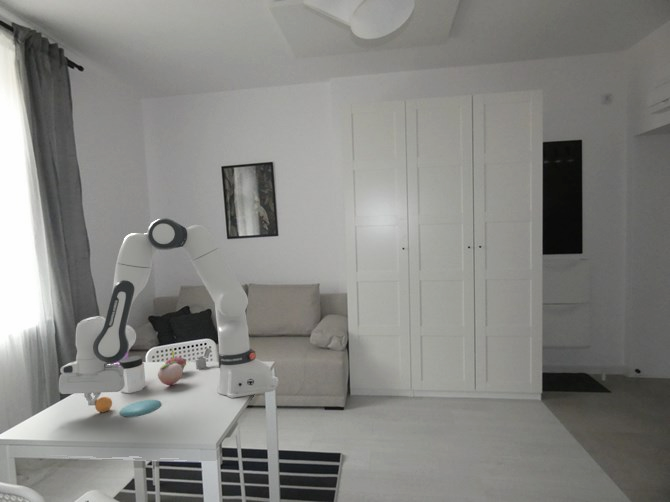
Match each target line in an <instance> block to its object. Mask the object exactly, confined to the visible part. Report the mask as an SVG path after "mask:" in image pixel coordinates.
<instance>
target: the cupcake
mask: <svg viewBox="0 0 670 502" xmlns="http://www.w3.org/2000/svg"><path fill="white" fill-rule="evenodd" d="M174 352H175V351H174V349H173V348H171V355H172V358H170V359H167V360H166V362H165V364H169V361H170V363H171V362H174V361H175V362H179V365H180V366H181V367H182V369H183V370H184V368H185V367H186V365H187V361H186V359H185V358H183V357H179V356H178V357H177V356H176V357H175V353H174ZM165 364H164V365H165ZM177 364H178V363H177Z"/></svg>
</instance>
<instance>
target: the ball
mask: <svg viewBox="0 0 670 502" xmlns="http://www.w3.org/2000/svg"><path fill="white" fill-rule="evenodd" d="M112 405H113V401H112V399H111V398H110V397H109V396H102V397H100V398H98V399H97V402H96V404H95V405H94V408H95V410H96V411H97V412H99V413H105V412H108V411H109V410H111V408H112Z"/></svg>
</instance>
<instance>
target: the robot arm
mask: <svg viewBox="0 0 670 502" xmlns="http://www.w3.org/2000/svg"><path fill="white" fill-rule="evenodd" d="M178 248H180V249H182V250H184V252H185V253H186V255H187V257H188V258H189V260H190V262H191V264H192V266H193V267H194V269H195V271H196V273H197V275H198V276H199V278H200V280H201V281H202V283H203V285H204V287H205V289H206V291H207V292H208V294H209V296H210V297H211V299H212V302H214V308H215V319H216V327H217V337H218V339H217V340H218V350H219V351H218V356H217V361H218V367H219V380H218V388H217V392H218V394H220V395H222V396H227V397H228V398H233V399H234V398H239V397H245V396H253V395H257V394H264V393H271V392H274V391H275V390H277V388H278V386H279V385H280V384H279V383H280V381H279V378H278V377H277V376H274V375H273V373H272V369H271V368H270V366H269V365H268V364H266V363H264V362H263V361H261V360H260V359H259V358H256V357H257V356H256V349H255V348H254V349H252V348H251V347H250V336H249V326H248V321H247V313H246V310H247V308H248V304H249V299H248V298H249V297H248V295H247V293H246V292H245V290H244V288H243V286H242V284H241V283H240V281H239V280H238V278H237V276H236V275H235V273H234V271H233V269H232V268H231V266H230V264H229V262H228V261H227V259H226V256H225V255H224V253H223V251H222V250H221V247H220V246H219V244H218V243H217V241H216V240H215V238H214V237H213V235H212V233H210V231H209V230H208V229H207V228H206V227H205V226H204V225H201V224H193V225H190V226H189V227H184V226H183V225H181V224H180V223H178V222H177V221H176V220H174V219H171V218H167V217H165V218H164V217H162V218H158V219H155V220H154V221H153V222H151V223H150V225H149V226H148V228H147V232H146V233H140V232H133V233H130V234H129V233H128V235H126V236H125V237H124V238H123V241H122V244H121V246H120V248H119V251H118V254H117V258H116V263H115V269H114V275H113V276H114V277H113V285H112V291H111V297H110V302H109V304H108V308H107V313H106V317H105V316H102V315H101V316H100V315H95V316H91V317H87V318H84V319H82V320H80V321H79V322H78V323H77V324H76V328H75V347H76V351H77V352H76V356H75V360H74V361H71V362H69V363H67V364H65V365H63V366H61V367H60V369H59V370H60V373H61V374H60V375H59V377H58V378H59V379H58V392H59V393H60V394H61V395H67V394H68V395H69V394H71V395H72V394H74V395H75V394H83V396H84V398H85V399H86V401H87V404H88V406H95V404H96V402H97V400H98V399H99V397H100V395H101V394H102V393H119V392H120V390H122V389H123V388H124V386H125V382H124V376H123V373H124V370H123V367H122V366H121V365H119V364H114V363H117V362H119V361H120V359H122V358H123V357H124V356H125V354H126V353H127V351H128V350H129V351H130V350H131V348H132V347H133V346H134V345H135V343H136V341H137V331H136V330H135V328H134V327H132V325H129V324H128V322H129V321H128V320H129V317H130V313H131V309H132V306H133V303H134V301H135V300H136V298H137V297H138V295H139V294H140V293H141V292H142V291H143V290H144V288H145V287H146V285H147V283H148V282H149V279H150V275H151V272H152V266H153V262H154V261H153V260H154V259H155V258H154V257H155V254H156V253H157V252H158V251H163V250H164V251H171V250H173V249H178ZM119 366H120V367H119ZM92 395H93V396H94V397H92Z"/></svg>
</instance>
